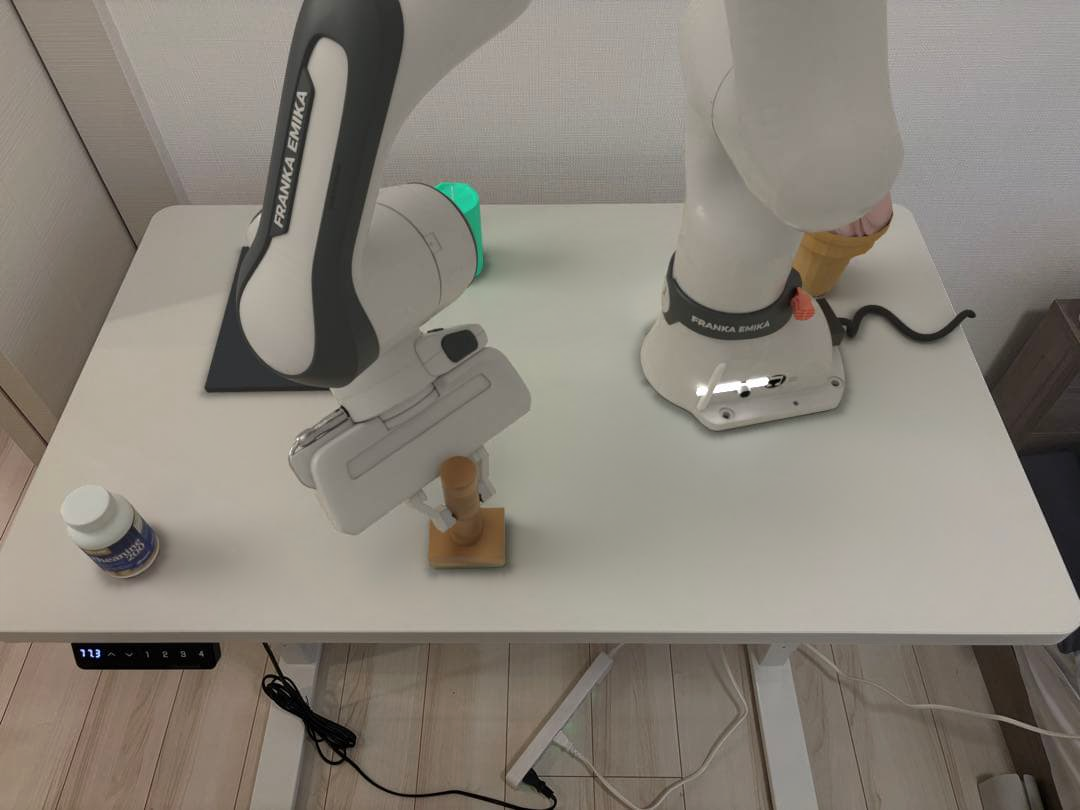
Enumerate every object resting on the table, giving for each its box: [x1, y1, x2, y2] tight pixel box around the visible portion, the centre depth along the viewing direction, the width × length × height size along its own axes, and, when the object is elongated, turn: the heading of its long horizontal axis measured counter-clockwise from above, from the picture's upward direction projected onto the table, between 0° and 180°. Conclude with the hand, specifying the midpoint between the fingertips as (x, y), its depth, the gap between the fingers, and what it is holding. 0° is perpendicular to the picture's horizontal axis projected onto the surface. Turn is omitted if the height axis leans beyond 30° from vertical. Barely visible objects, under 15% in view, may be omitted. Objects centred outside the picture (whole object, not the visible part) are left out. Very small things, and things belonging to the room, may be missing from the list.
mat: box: [204, 245, 331, 393], centre depth 93 cm, size 16×22×1 cm
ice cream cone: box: [793, 190, 894, 297], centre depth 89 cm, size 11×11×20 cm
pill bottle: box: [60, 484, 160, 579], centre depth 71 cm, size 5×5×10 cm
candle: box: [433, 182, 485, 278], centre depth 93 cm, size 6×6×12 cm
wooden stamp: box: [427, 456, 506, 570], centre depth 71 cm, size 7×5×14 cm
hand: (468, 511), depth 70 cm, fingers closed on wooden stamp, 3 cm apart
